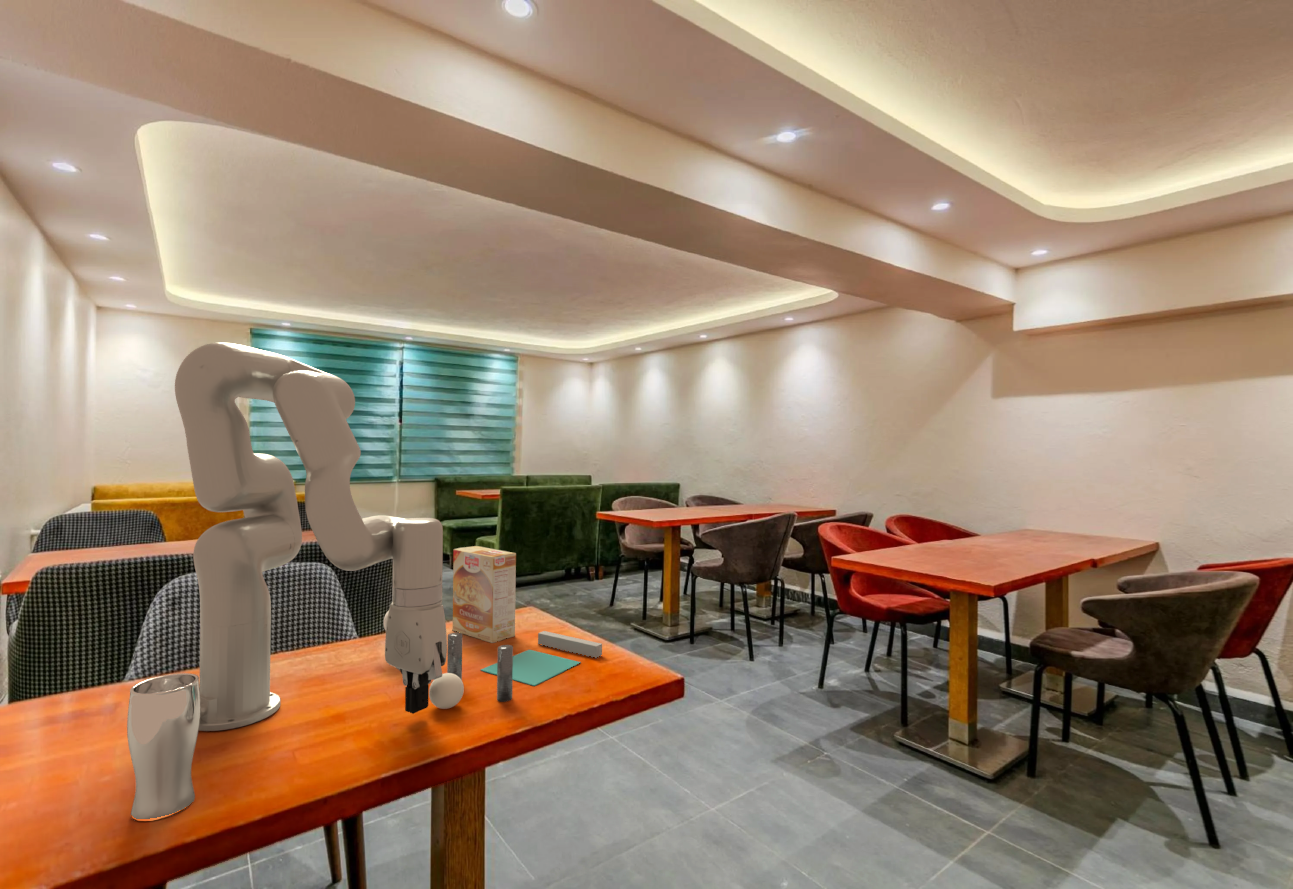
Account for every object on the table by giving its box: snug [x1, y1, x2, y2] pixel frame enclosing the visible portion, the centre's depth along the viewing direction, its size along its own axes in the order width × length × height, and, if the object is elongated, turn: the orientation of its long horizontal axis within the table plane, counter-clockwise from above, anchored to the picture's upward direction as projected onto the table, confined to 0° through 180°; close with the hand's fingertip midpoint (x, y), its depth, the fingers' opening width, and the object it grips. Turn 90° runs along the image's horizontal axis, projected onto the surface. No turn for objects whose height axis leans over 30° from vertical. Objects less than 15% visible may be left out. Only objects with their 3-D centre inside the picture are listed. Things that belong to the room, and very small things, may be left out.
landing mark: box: [480, 649, 582, 687], centre depth 120 cm, size 14×14×1 cm
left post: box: [446, 632, 463, 681], centre depth 112 cm, size 3×3×9 cm
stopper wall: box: [537, 630, 603, 659], centre depth 131 cm, size 2×16×2 cm, turn 59°
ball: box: [428, 672, 465, 710], centre depth 102 cm, size 6×6×6 cm
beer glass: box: [126, 672, 201, 819], centre depth 73 cm, size 7×7×15 cm
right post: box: [496, 644, 514, 703], centre depth 105 cm, size 3×3×9 cm
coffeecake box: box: [451, 545, 517, 644], centre depth 141 cm, size 15×7×20 cm, turn 53°
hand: (416, 709), depth 97 cm, fingers closed
